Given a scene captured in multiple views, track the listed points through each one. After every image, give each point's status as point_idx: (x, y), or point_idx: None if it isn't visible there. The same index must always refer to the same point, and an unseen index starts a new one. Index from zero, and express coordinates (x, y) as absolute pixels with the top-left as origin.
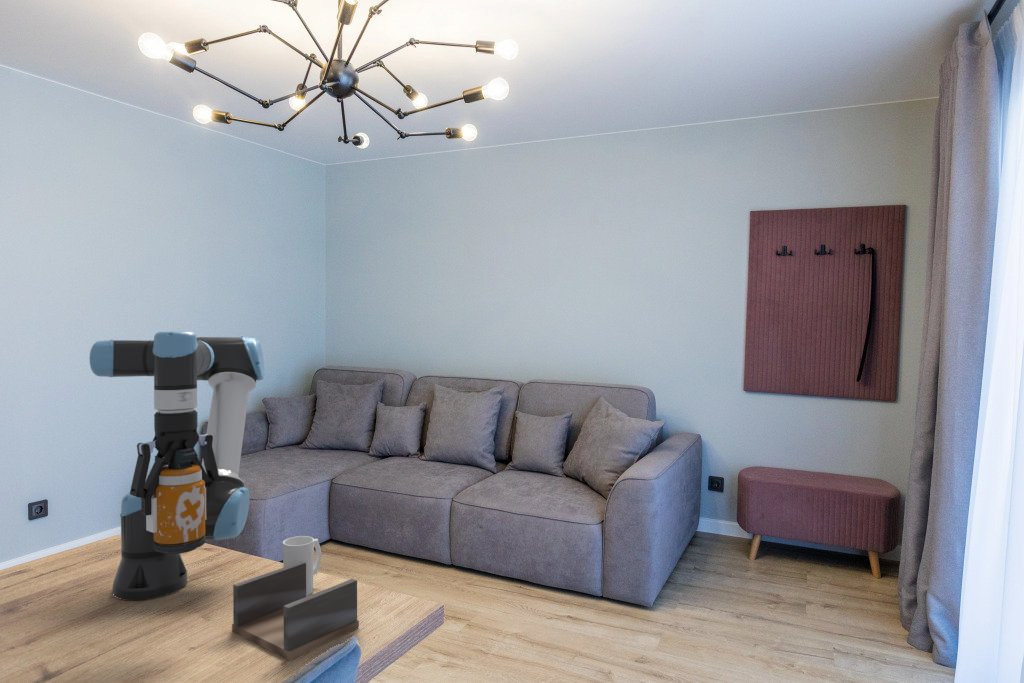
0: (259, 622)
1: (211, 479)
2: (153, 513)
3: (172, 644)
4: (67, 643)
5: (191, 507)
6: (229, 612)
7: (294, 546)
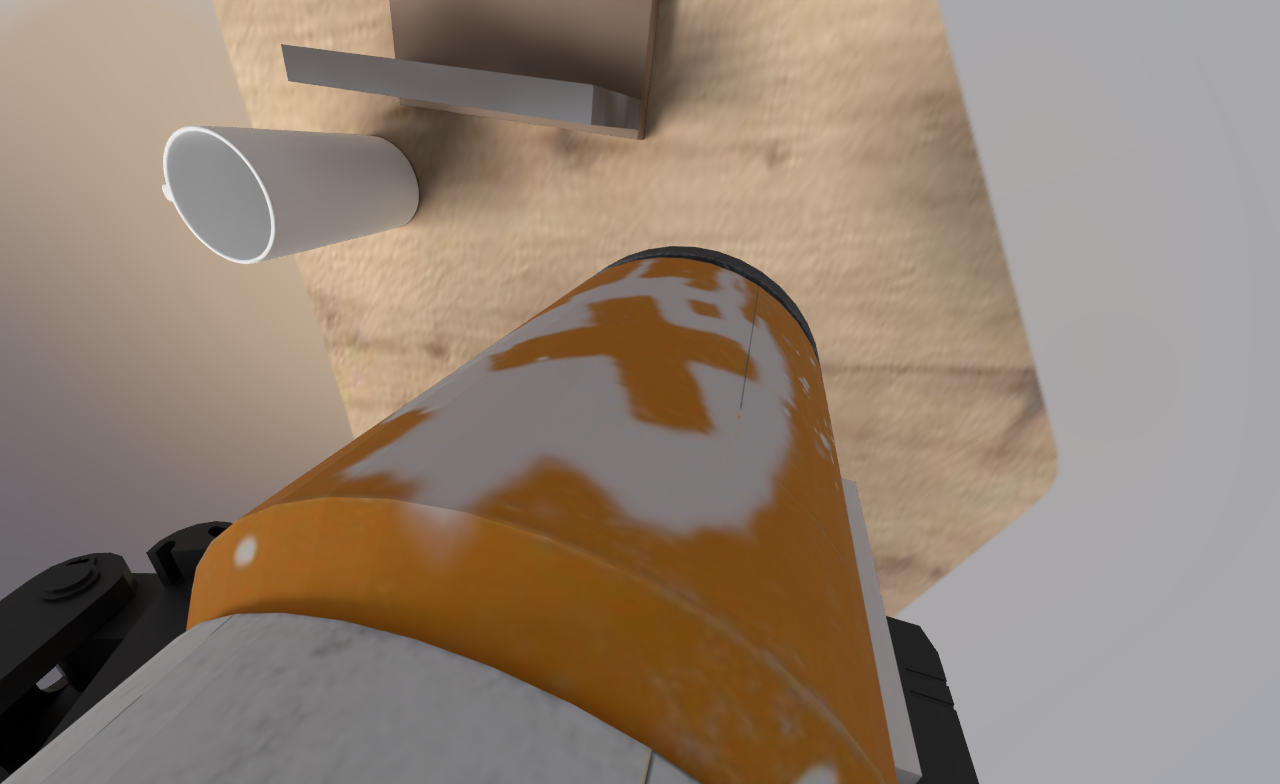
0: (583, 55)
1: (132, 615)
2: (876, 600)
3: (781, 237)
4: (878, 488)
5: (631, 348)
6: (568, 264)
7: (251, 161)
